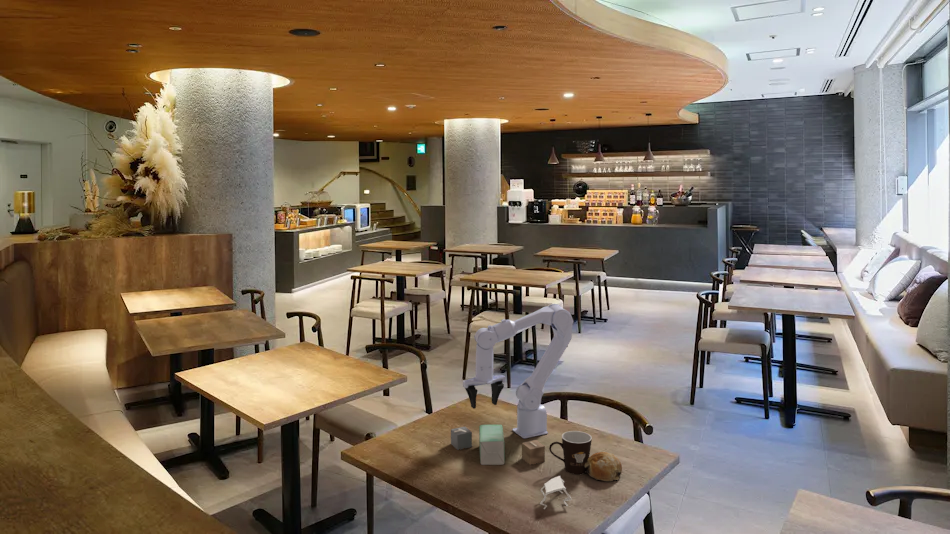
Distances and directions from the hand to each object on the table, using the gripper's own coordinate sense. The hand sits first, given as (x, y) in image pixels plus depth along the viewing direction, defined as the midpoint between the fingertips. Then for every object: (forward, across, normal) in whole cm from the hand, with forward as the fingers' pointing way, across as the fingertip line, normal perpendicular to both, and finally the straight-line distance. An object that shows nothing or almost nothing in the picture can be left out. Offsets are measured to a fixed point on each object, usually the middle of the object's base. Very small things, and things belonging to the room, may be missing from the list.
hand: (483, 405), depth 205 cm
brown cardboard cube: (+10, +6, -22) cm, 25 cm away
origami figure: (+11, -1, -45) cm, 46 cm away
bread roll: (+10, +18, -39) cm, 44 cm away
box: (+11, -4, -13) cm, 18 cm away
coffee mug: (+10, +12, -32) cm, 36 cm away
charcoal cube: (+11, -10, -3) cm, 15 cm away
